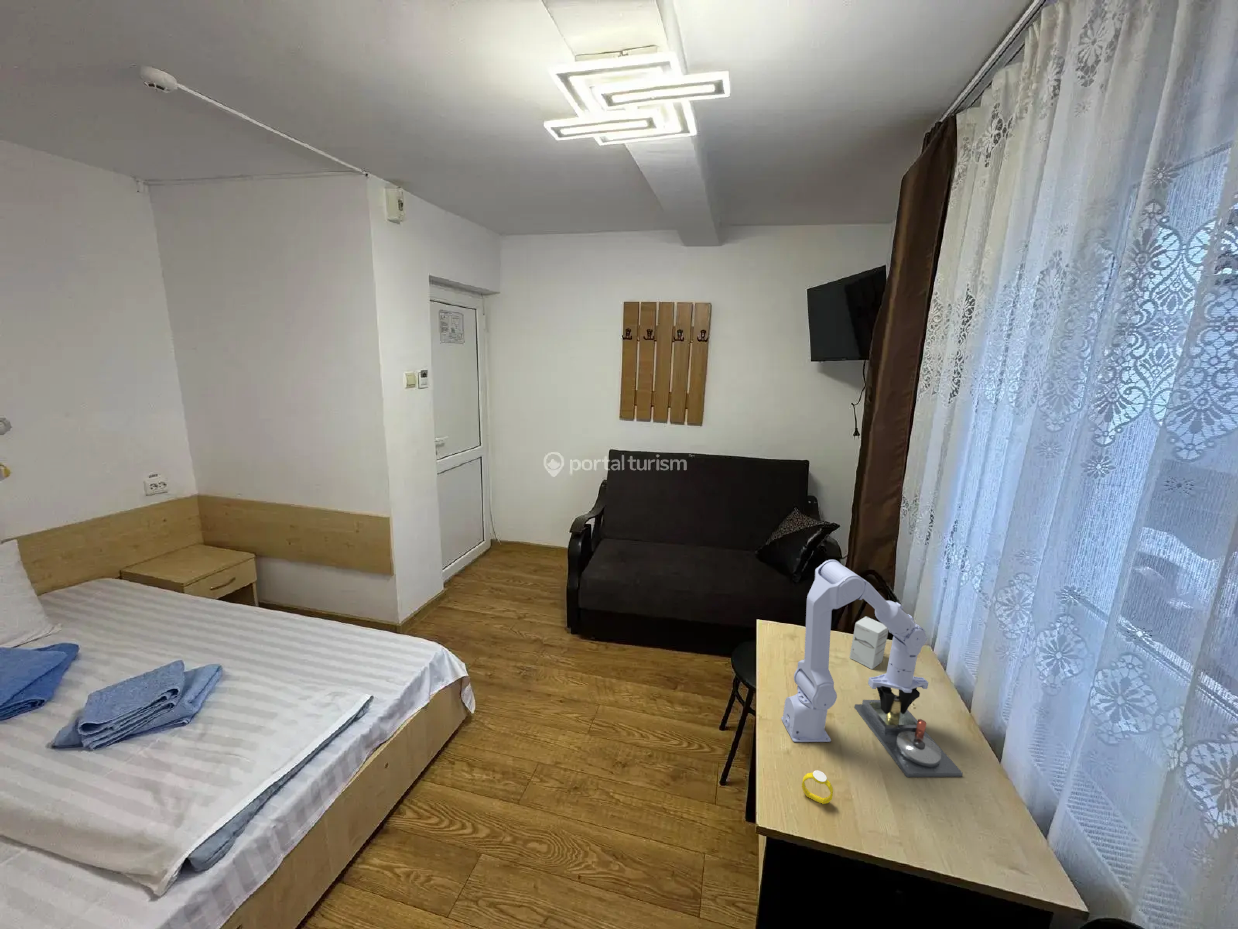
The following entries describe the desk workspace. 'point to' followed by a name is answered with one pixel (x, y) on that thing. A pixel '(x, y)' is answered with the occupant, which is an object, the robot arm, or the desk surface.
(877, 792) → the desk surface
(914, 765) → the crank bench
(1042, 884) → the desk surface
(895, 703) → the cylinder
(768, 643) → the desk surface
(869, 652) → the supplement box
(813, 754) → the desk surface
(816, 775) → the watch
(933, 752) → the crank
